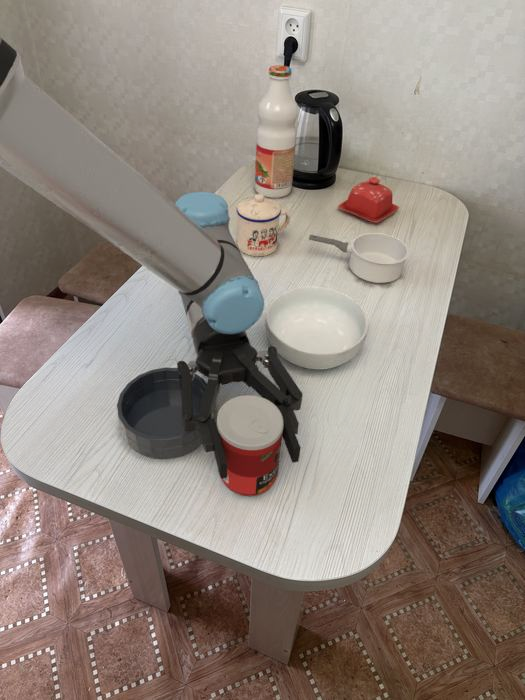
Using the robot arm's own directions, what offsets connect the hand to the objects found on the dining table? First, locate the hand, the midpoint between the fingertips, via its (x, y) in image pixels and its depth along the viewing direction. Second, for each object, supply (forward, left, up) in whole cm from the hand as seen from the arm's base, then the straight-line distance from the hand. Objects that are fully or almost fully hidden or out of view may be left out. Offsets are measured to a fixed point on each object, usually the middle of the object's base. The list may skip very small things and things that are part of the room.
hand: (260, 463), depth 57 cm
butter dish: (+25, +80, -11) cm, 84 cm away
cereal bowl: (+9, +31, -11) cm, 34 cm away
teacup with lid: (0, +63, -11) cm, 64 cm away
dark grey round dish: (-13, +14, -11) cm, 22 cm away
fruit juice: (+2, +89, -11) cm, 89 cm away
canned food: (-1, +5, -9) cm, 10 cm away
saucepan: (+19, +56, -11) cm, 60 cm away
